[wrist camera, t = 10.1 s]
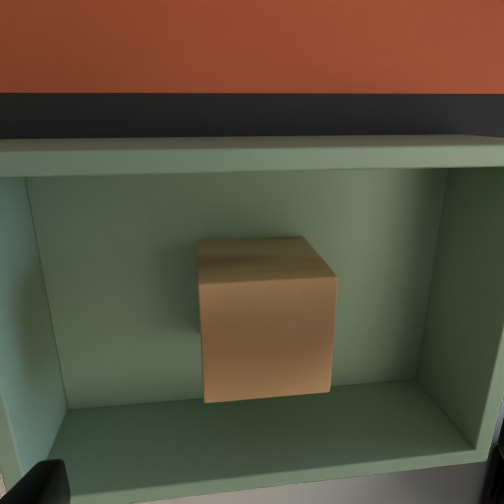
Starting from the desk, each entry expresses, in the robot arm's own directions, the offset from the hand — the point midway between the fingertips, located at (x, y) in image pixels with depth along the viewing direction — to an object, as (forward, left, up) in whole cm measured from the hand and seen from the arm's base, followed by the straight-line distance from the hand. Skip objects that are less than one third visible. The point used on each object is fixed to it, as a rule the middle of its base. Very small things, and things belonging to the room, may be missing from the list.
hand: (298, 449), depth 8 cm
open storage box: (0, 0, -8) cm, 9 cm away
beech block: (0, 0, -8) cm, 8 cm away
